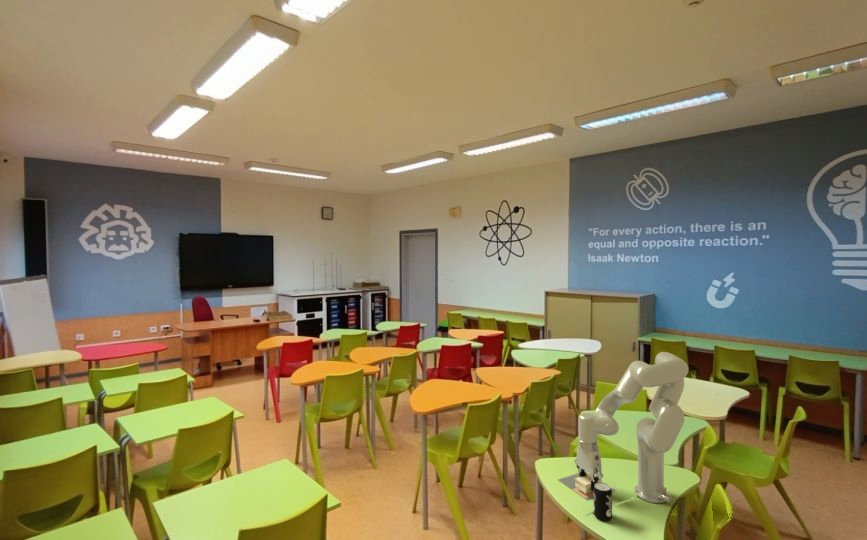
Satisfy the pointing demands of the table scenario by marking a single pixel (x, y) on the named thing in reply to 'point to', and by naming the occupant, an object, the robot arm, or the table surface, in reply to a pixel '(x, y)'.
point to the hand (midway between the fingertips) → (588, 485)
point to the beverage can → (602, 501)
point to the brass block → (584, 483)
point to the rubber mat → (570, 484)
